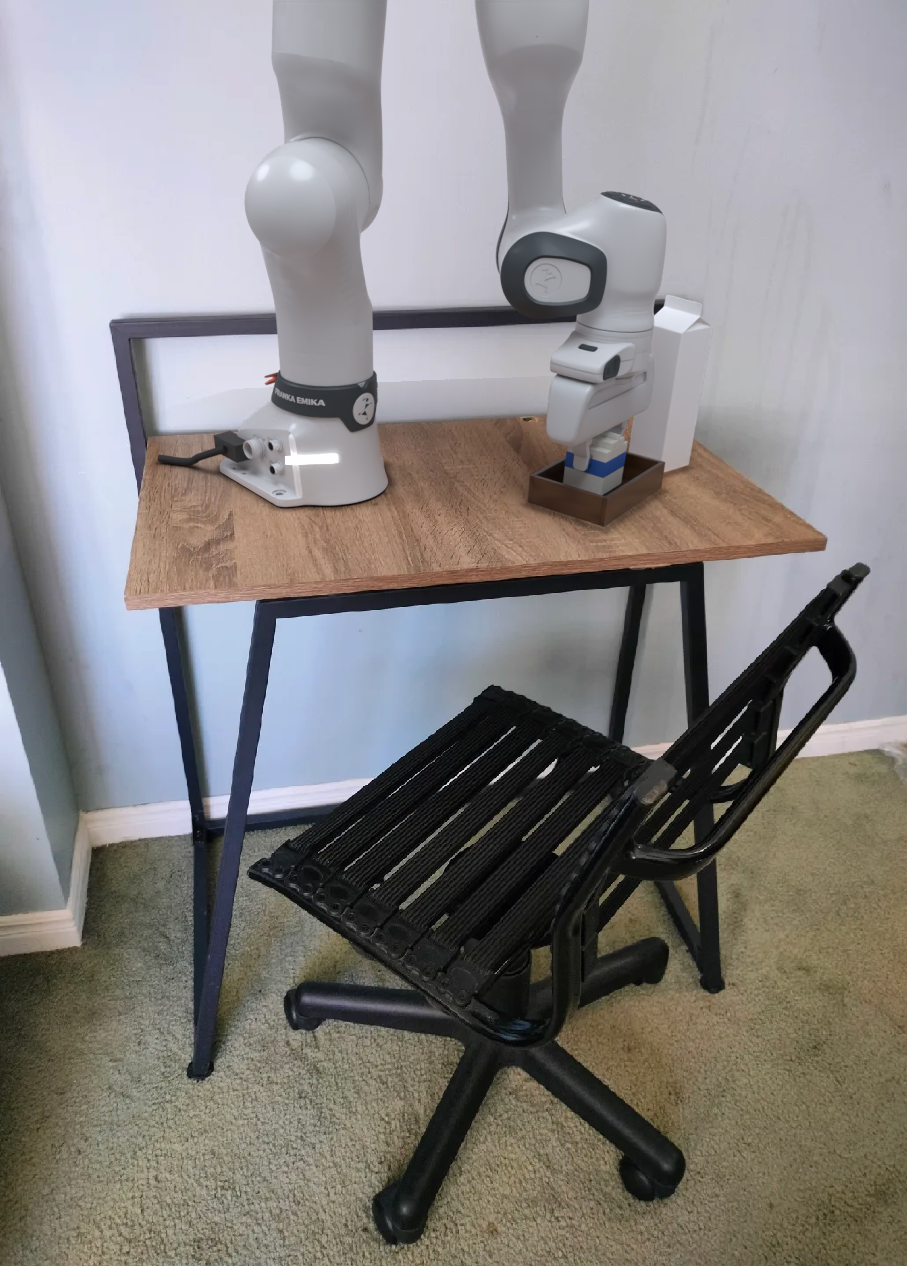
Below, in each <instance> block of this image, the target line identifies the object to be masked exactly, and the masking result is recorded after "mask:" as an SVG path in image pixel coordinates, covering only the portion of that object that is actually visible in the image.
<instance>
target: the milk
mask: <svg viewBox="0 0 907 1266" xmlns="http://www.w3.org/2000/svg"><path fill="white" fill-rule="evenodd" d="M702 310H703V304H702V303H701V302H698V301H694V300H690V299H686V298H683V297H679V296H675V295H672V294H667V295H665V297H664V304H663V307H662V308H660V310H658V311H657V312H656V313H654V321H655V322H654V329H653V336H652V342H651V354H653V356H654V358H655V372H654V383H653V391H652V398H651V401H650V404H649V406H648V408H647V409H646V410H645V411H643V412H641V413H639V414H637V415H635V416H633V417H632V426H631V431H630V439H629V440H630V441H629V444H628V445H629V447H628V452H630V453H634V454H638V455H641V456H645V457H649V458H652V459H656V460H659V461H663V462H665V467H664V473H666V472H670V471H673V470H677V469H681V468H683V467H686V466H689V465H690V459H691V455H692V449H693V444H694V437H695V432H696V426H697V421H698V416H699V415H698V414H699V411H700V404H701V398H702V392H703V387H704V382H705V376H706V371H707V365H708V360H709V359H708V358H709V354H710V348H711V342H712V337H713V331H714V327H713V325H712V324H710V323H709V322H708V321H707V320H705V318H704V317H702Z"/></svg>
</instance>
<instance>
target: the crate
mask: <svg viewBox="0 0 907 1266" xmlns="http://www.w3.org/2000/svg"><path fill="white" fill-rule="evenodd" d="M565 460H566V455H565V456H563V457H562V458H559V459H558V460H556V461H554V462H552V463H550V464H548V465H546V466H545V467H543V468H540V470H539V469H538V470H537V471H535V472H533V473H532V474H530V475H529V479H528V480H529V481H528V493H527V503H529V504H532V505H535V506H538V507H540V508H544V509H547V510H551V511H553V512H557V513H559V514H563V515H566V516H568V517H572V518H575V519H577V520H581V521H585V522H587V523H591V524H593V525H596V526H600V527H603V528H605V527H606V526H608V525H609V524H611V523H612V522H614V521H615V520H616V519H618V518H619V517H621V516H622V515H624V514H625V513H627V512H628V511H630V510H631V509H633V508H635V507H636V506H637V505H638V504H640V503H641V502H643V501H644V500H646V499H647V498H649V497H650V496H652V495H654V494H655V493H656V492H658V491H659V490H661V489H662V486H663V485H662V484H663V478H664V473H665V472H664V467H665V462H663V461H659V460H656V459H652V458H649V457H645V456H641V455H638V454H634V453H630V452H629V451H628V450H626V457H625V463H624V468H623V474H622V480H621V484H620V485H618V486H616V487H615V488H613V489H612V490H610V491H608V492H607V493H605V494H603V495H599V494H596V493H593V492H589V491H586V490H583V489H580V488H576V487H573V486H570V485H566V484H563V478H564V470H565Z"/></svg>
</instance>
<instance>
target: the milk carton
mask: <svg viewBox="0 0 907 1266" xmlns="http://www.w3.org/2000/svg"><path fill="white" fill-rule="evenodd" d="M628 443H629V442H628V441H627V440H625V436H623V435H622V436H620V435H619V434H616V433H612V432H609V431H607V430H606V431H604V432H602V433H601V434H599V435H597V436H595V437H593V438H592V443H591V445H589V452H590V454H591V455H593V458H592V462H591V463H592V465H591V467H590V468H589V469H587V470H585V471H580V470H576V469H575V468H574V467H573V461H574V453H573V450H572V448H571V447H567V446H566V453H565V456H566V460H565V470H564V478H563V484H566V485H570V486H573V487H576V488H580V489H583V490H586V491H589V492H593V493H596V494H599V495H603V494H605V493H607V492H608V491H610V490H612V489H613V488H615V487H616V486H618V485H620V484H621V480H622V474H623V468H624V463H625V457H626V451H627V448H628Z"/></svg>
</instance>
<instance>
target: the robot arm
mask: <svg viewBox="0 0 907 1266" xmlns="http://www.w3.org/2000/svg"><path fill="white" fill-rule="evenodd" d="M387 9H388V0H272V22H271V23H272V25H271V57H270V59H271V66H272V70H273V73H274V75H275V78H276V82H277V86H278V92H279V99H280V106H281V114H282V123H283V131H284V132H283V133H284V134H283V136H284V137H283V140H284V142H283V144H281V145H279V146H277V147H275V148H273V149H271V150H270V151H268V153H267V154H266V155H265V156H263V158H262V159H261V161H260V162H259V163H258V164H257V166H256V167H255V169H254V170H253V172H252V173H251V175H250V176H249V179H248V181H247V184H246V187H245V192H244V212H245V216H246V219H247V223H248V225H249V227H250V230H251V231H252V233H253V235H254V236H255V238H256V239H257V240H258V241H259V246H260V250H261V254H262V258H263V262H264V266H265V269H266V273H267V277H268V281H269V285H270V288H271V292H272V293H271V294H272V298H273V299H272V300H273V304H274V311H275V320H276V333H277V347H278V359H279V370H278V371H277V372H274V373H270V374H267V375H264V379H267V378H268V380H267V381H265V382H264V385H265V386H268V385H272V384H274V385H273V389H272V392H271V397H270V400H269V401H267V402H266V403H264V405H262V406H261V407H260V408H258V410H256V411H255V412H253V413H252V414H250V415H249V416H248V417H246V418H245V420H243V421H242V423H240V425H239V428H238V430H237V433H235V432H234V431H231V430H229V431H224V432H221V433H217V434H213V443H214V448H210V449H207V450H204V451H201V452H198V453H195V454H194V455H192V456H191V457H178V456H173V455H167V454H161V453H160V454H158V455H157V462H159V463H162V464H163V463H165V464H170V465H176V466H193V465H194V466H195V465H196V464H198V463H199V462H201V461H204V460H207V459H210V458H213V457H216V456H223V457H225V458H224V459H223V460H222V461H221V462H220V463H219V472H220V473H221V474H223V475H224V476H226V477H228V478H229V479H230V480H231V479H232V481H235V482H237V483H238V484H240V485H242V486H243V487H245V488H247V490H249V491H251V492H253V493H254V494H256V495H258V496H260V497H261V498H263V499H264V500H266V501H268V502H269V503H272V504H273V505H275V506H277V507H280V508H290V507H291V508H292V507H299V506H342V505H343V506H344V505H349V504H356V503H359V502H363V501H366V500H370V499H372V498H375V497H377V496H378V495H380V494H382V493H383V492H384V491H385V490H386V489H387V487H388V485H389V480H388V475H387V472H386V470H385V461H384V457H383V456H382V449H381V442H380V435H379V429H378V428H379V427H378V421H377V420H378V419H377V415H376V413H377V405H378V401H379V399H378V397H379V396H378V395H379V394H378V393H379V392H378V388H379V383H378V374H377V371H375V370H374V325H373V324H374V321H373V318H374V317H373V304H372V300H371V299H370V296H369V293H368V288H367V284H366V278H365V272H364V266H363V265H364V264H363V260H362V258H363V257H362V253H361V251H362V249H361V234H362V233H364V232H365V231H366V230H367V229H368V228H370V226H371V225H372V224H373V223H374V220H375V219H376V218H377V215H378V213H379V210H380V208H381V204H382V200H383V193H384V179H383V157H384V156H383V151H384V150H383V145H384V144H383V112H382V77H383V74H382V73H383V59H384V46H385V37H386V36H385V34H386V22H387V12H388V11H387ZM474 9H475V18H476V26H477V32H478V38H479V42H480V49H481V53H482V57H483V60H484V61H483V62H484V65H485V69H486V73H487V76H488V79H489V81H490V84H491V87H492V89H493V93H494V94H495V97H496V100H497V104H498V106H499V110H500V113H501V119H502V123H503V130H504V139H505V157H506V158H505V159H506V179H507V210H506V211H507V212H506V216H505V219H504V221H503V225H502V227H501V230H500V234H499V236H498V239H497V243H496V248H495V264H496V265H495V266H496V269H497V272H498V275H499V281H500V287H501V290H502V292H503V296H504V297H505V299H506V301H507V302H508V304H509V305H510V306H511V307H512V308H513V309H514V310H515V311H517V312H518V313H519V314H521V315H523V316H525V317H528V318H531V319H537V320H545V319H556V318H565V317H572V316H573V317H574V316H576V319H575V328H574V330H573V331H571V333H570V335H569V336H568V337H567V338H566V340H565V341H564V342H563V343H562V344H561V345H560V346H559V347H558V348H557V349H556V350H555V351H554V352H553V353H552V355H551V357H550V361H549V371H550V372H551V373H553V374H555V375H554V377H553V379H552V380H551V383H550V385H549V386H550V387H549V390H548V398H547V399H548V400H547V409H546V421H545V431H546V435H547V438H548V440H549V441H550V442H551V443H554V444H557V445H559V446H563V447H566V448H567V447H571V448H572V450H573V453H574V461H573V467H574V468H575V469H576V470H580V471H585V470H587V469H589V468H590V467H591V465H592V463H591V462H592V458H593V455H591V454H590V452H589V445H591V443H592V438H593V437H595V436H597V435H599V434H601V433H602V432H604V431H609V432H612V433H616V434H619V435H620V436H623V435H624V433H625V431H626V428H627V425H628V421H629V419H631V418H633V417H634V416H635V415H637V414H639V413H641V412H643V411H645V410H646V409H647V408H648V406H649V404H650V401H651V398H652V391H653V383H654V372H655V358H654V356H653V354H651V342H652V336H653V329H654V322H655V321H654V315H655V313H654V308H655V301H656V299H657V295H658V293H659V291H660V289H661V286H662V279H663V273H664V267H665V259H666V249H667V221H666V217H665V215H664V213H663V212H662V211H661V209H660V208H659V207H658V206H657V205H656V204H654V203H653V202H652V201H650V200H646V199H644V198H642V197H640V196H636V195H633V194H629V193H625V192H620V191H613V190H610V191H609V190H606V191H601V192H600V193H599V194H598V195H596V196H595V198H593V199H591V200H590V201H588V202H587V203H585V204H583V205H581V206H579V207H578V208H576V209H574V210H571V211H569V212H567V211H566V207H565V203H564V196H563V195H564V194H563V193H564V192H563V143H562V142H563V141H562V138H563V136H562V134H563V132H562V131H563V119H564V113H565V109H566V108H565V107H566V103H567V100H568V96H569V94H570V90H571V88H572V87H573V84H574V81H575V79H576V77H577V75H578V72H579V70H580V68H581V66H582V63H583V58H584V54H585V46H586V40H587V34H588V33H587V31H588V24H589V23H588V22H589V11H590V10H589V9H590V0H474ZM269 378H271V379H269Z"/></svg>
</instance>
